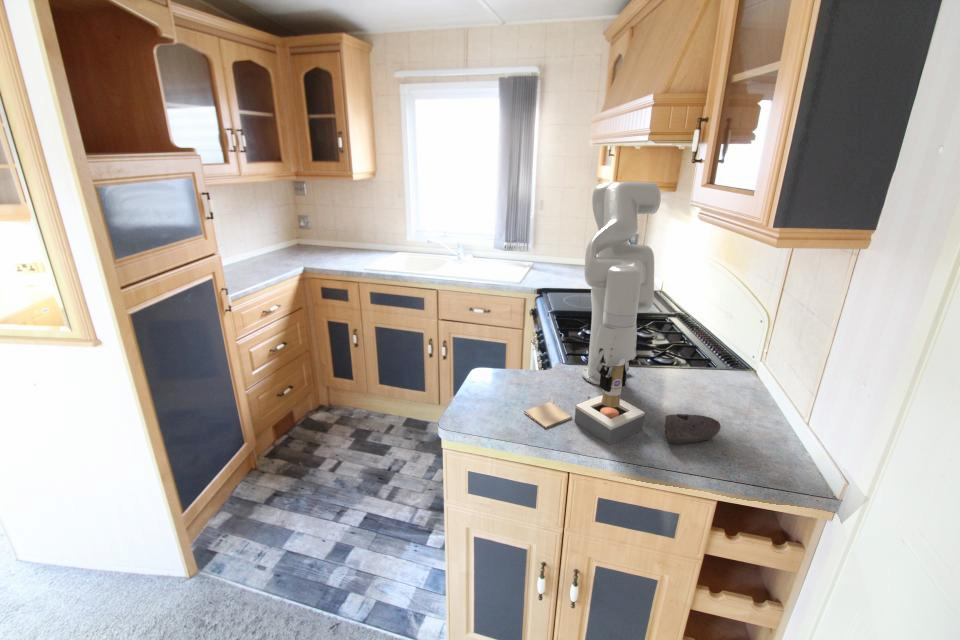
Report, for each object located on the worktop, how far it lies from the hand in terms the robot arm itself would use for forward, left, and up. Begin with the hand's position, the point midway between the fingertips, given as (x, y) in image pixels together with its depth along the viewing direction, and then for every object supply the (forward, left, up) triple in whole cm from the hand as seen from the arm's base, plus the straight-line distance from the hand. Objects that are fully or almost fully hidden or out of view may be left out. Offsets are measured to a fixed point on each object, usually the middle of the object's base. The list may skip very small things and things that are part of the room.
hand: (612, 386), depth 114 cm
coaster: (+10, -12, -11) cm, 19 cm away
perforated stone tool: (-12, +15, -12) cm, 23 cm away
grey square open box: (0, 0, -11) cm, 11 cm away
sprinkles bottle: (0, 0, -5) cm, 5 cm away
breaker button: (0, 0, -9) cm, 9 cm away
